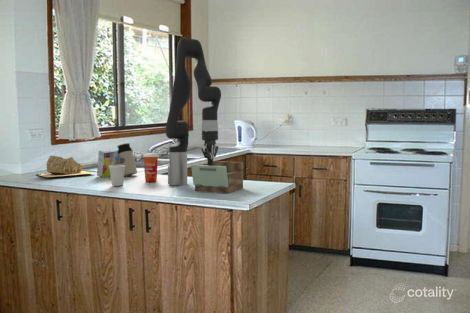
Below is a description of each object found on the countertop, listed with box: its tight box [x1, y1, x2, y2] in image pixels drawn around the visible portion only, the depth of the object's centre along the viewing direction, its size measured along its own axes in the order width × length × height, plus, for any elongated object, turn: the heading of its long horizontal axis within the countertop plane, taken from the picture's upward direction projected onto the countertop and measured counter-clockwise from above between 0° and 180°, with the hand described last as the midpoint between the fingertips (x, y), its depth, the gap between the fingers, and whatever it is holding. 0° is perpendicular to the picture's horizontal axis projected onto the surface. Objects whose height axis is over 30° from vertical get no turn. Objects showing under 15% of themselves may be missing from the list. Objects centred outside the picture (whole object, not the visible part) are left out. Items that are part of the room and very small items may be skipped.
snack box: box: [96, 148, 134, 178], centre depth 294 cm, size 21×6×15 cm, turn 142°
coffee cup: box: [142, 152, 159, 183], centre depth 272 cm, size 8×8×15 cm
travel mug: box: [116, 142, 138, 177], centre depth 291 cm, size 8×8×18 cm
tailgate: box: [190, 164, 228, 188], centre depth 233 cm, size 18×2×10 cm, turn 65°
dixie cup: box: [109, 165, 125, 187], centre depth 259 cm, size 8×8×10 cm
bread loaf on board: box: [39, 155, 93, 178], centre depth 299 cm, size 28×22×16 cm
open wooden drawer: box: [194, 160, 244, 194], centre depth 243 cm, size 18×16×13 cm
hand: (210, 167), depth 234 cm, fingers closed
